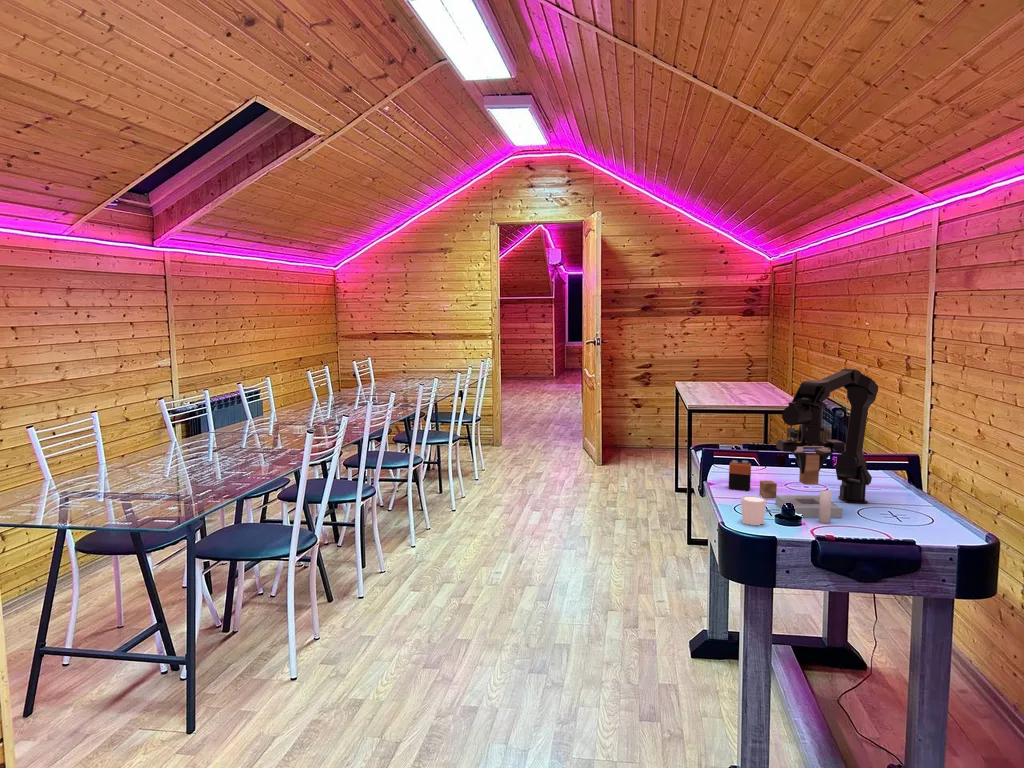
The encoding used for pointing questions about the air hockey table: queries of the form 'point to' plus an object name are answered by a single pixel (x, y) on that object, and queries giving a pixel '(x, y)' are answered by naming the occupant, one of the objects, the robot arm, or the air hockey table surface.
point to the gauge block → (812, 505)
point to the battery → (739, 475)
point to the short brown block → (768, 489)
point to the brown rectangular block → (810, 470)
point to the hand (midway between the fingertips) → (809, 473)
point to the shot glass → (753, 510)
